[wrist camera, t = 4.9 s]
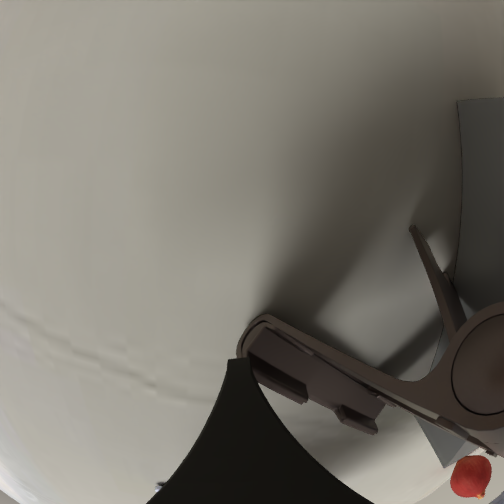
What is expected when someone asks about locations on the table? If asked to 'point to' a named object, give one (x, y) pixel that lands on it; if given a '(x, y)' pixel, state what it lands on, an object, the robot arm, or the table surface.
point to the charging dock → (476, 236)
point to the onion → (471, 476)
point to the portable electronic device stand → (385, 386)
